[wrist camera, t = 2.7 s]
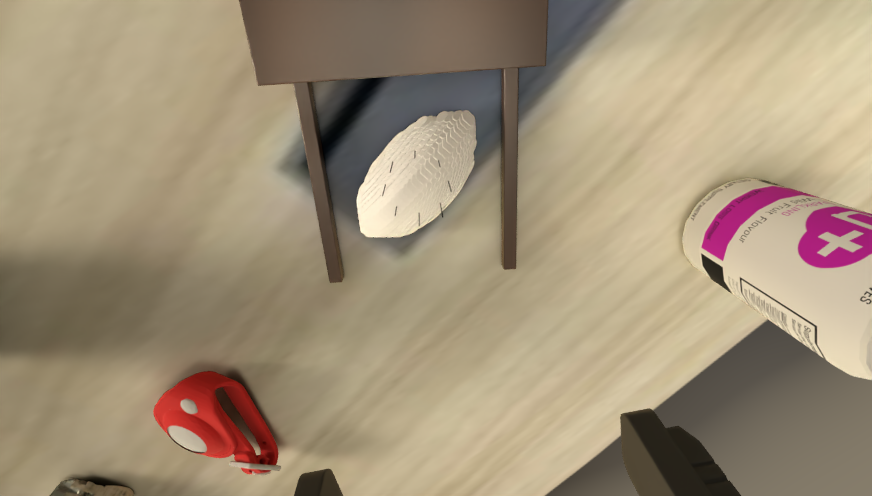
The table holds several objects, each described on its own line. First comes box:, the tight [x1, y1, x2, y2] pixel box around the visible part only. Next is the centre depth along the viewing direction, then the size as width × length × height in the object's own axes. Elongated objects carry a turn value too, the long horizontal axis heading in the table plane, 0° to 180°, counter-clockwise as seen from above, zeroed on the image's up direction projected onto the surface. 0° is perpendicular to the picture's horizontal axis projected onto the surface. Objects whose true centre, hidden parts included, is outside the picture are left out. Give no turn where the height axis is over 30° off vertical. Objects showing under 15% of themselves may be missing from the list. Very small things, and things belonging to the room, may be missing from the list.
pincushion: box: [356, 110, 477, 238], centre depth 29 cm, size 12×6×6 cm, turn 138°
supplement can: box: [682, 178, 872, 380], centre depth 27 cm, size 8×8×15 cm
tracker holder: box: [153, 371, 281, 475], centre depth 38 cm, size 12×4×10 cm
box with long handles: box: [239, 0, 548, 283], centre depth 22 cm, size 15×32×14 cm, turn 4°
